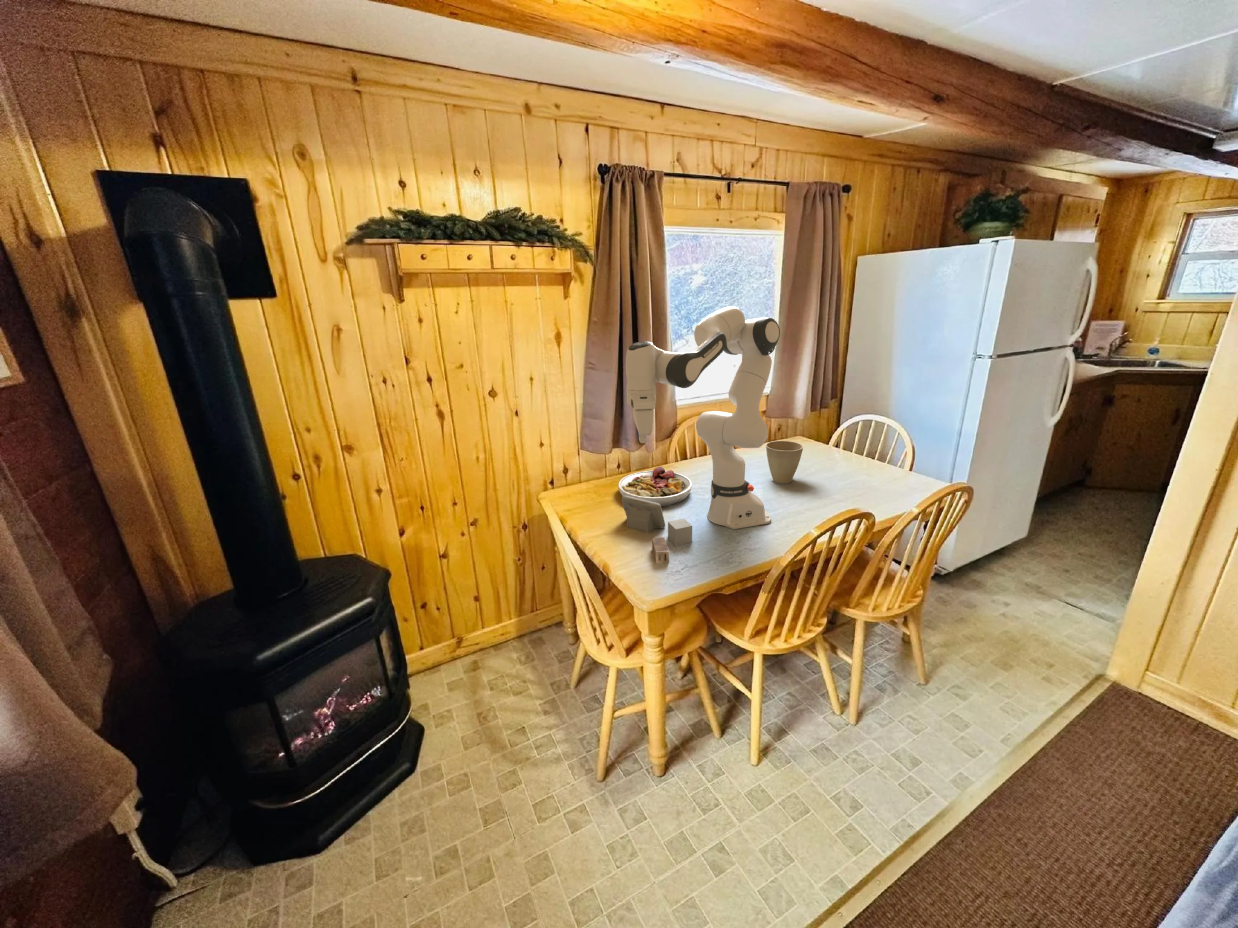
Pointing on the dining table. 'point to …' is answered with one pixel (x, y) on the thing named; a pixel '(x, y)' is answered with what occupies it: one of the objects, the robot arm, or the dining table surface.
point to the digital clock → (642, 514)
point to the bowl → (656, 486)
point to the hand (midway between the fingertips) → (642, 441)
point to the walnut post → (660, 550)
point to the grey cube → (680, 531)
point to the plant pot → (783, 459)
